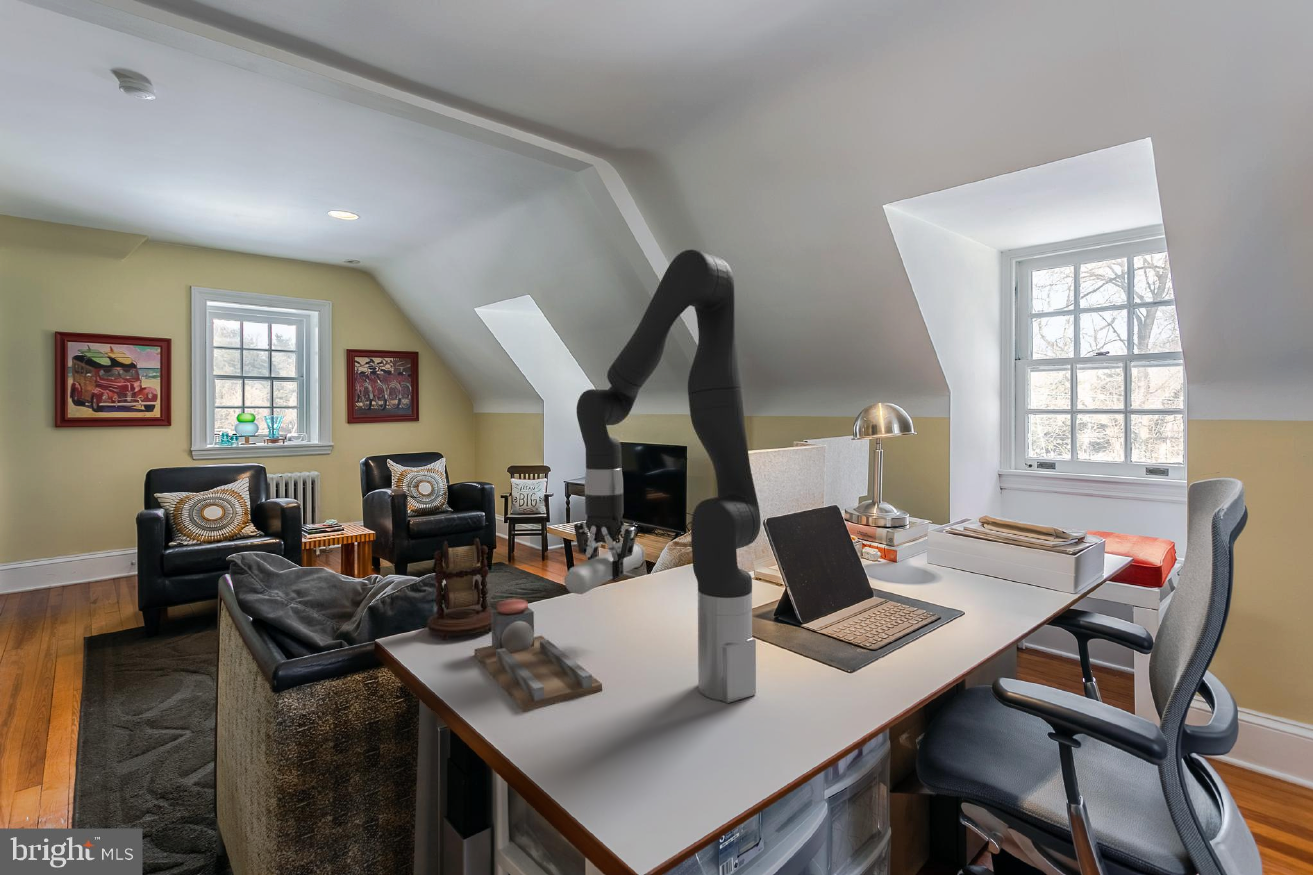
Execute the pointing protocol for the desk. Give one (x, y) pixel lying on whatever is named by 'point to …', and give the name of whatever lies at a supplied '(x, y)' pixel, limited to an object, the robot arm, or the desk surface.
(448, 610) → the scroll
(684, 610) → the desk surface
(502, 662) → the pipe rack
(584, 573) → the tube
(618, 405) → the robot arm
